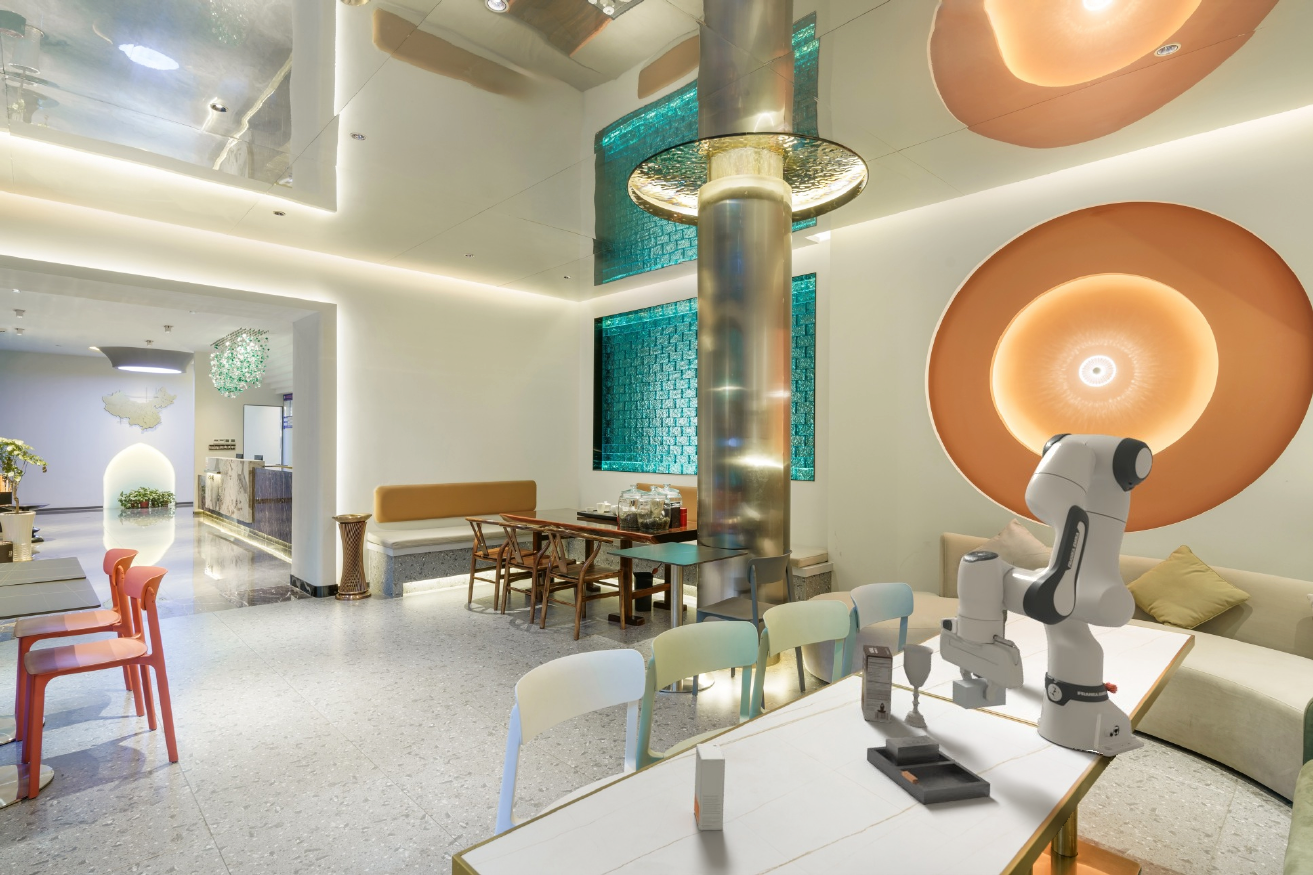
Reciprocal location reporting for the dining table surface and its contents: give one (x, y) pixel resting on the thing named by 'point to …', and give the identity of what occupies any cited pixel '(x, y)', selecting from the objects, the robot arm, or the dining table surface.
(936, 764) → the tray
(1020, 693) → the dining table surface
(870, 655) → the coffee box
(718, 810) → the skincare box
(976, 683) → the pale grey rectangular block
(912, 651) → the chalice
